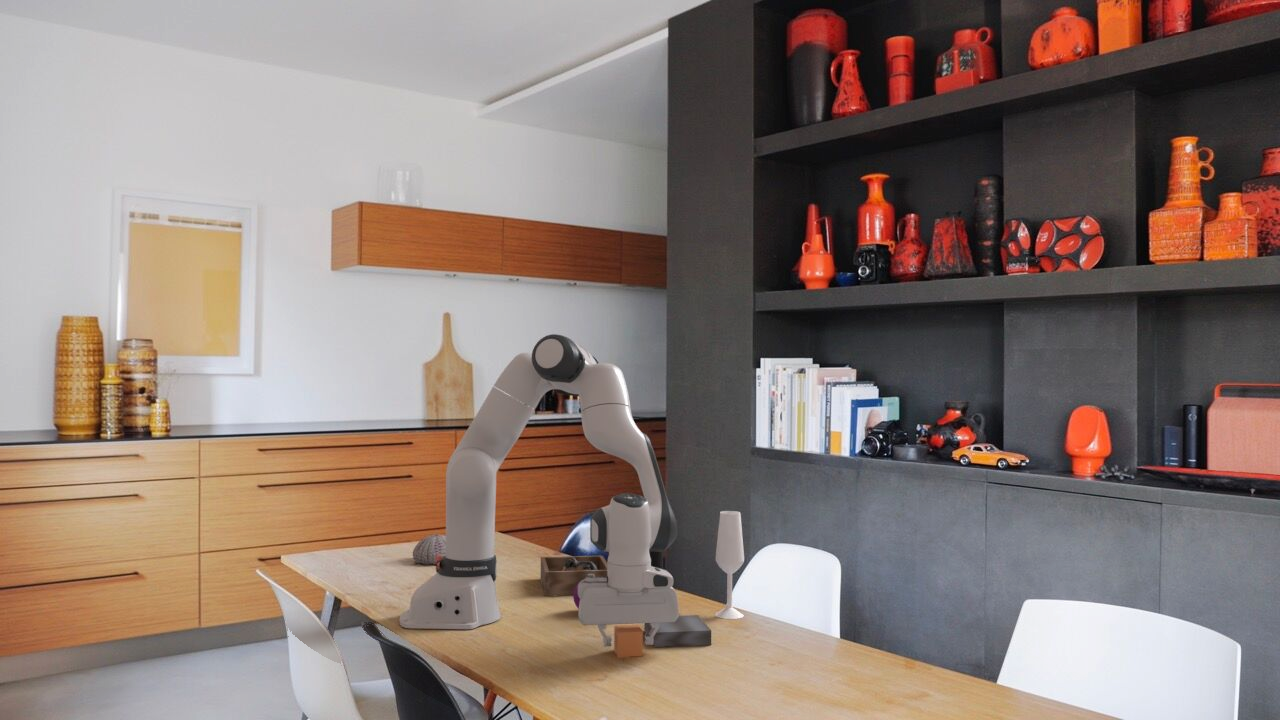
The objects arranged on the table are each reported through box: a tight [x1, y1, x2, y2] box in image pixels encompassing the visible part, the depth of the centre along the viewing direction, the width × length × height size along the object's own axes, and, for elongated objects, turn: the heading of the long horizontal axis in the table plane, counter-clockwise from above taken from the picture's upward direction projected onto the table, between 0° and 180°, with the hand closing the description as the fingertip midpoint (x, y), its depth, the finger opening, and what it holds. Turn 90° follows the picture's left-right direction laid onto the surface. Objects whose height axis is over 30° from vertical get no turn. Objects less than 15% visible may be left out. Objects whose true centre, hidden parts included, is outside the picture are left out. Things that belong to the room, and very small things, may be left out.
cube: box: [613, 624, 644, 658], centre depth 181 cm, size 5×5×5 cm
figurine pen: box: [540, 555, 607, 597], centre depth 237 cm, size 17×19×6 cm
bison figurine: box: [561, 557, 598, 571], centre depth 238 cm, size 12×7×10 cm
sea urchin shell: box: [412, 534, 446, 565], centre depth 266 cm, size 13×14×8 cm
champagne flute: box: [715, 510, 745, 620], centre depth 210 cm, size 7×7×24 cm
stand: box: [644, 614, 712, 648], centre depth 192 cm, size 12×12×3 cm
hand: (628, 644), depth 181 cm, fingers open, 7 cm apart
